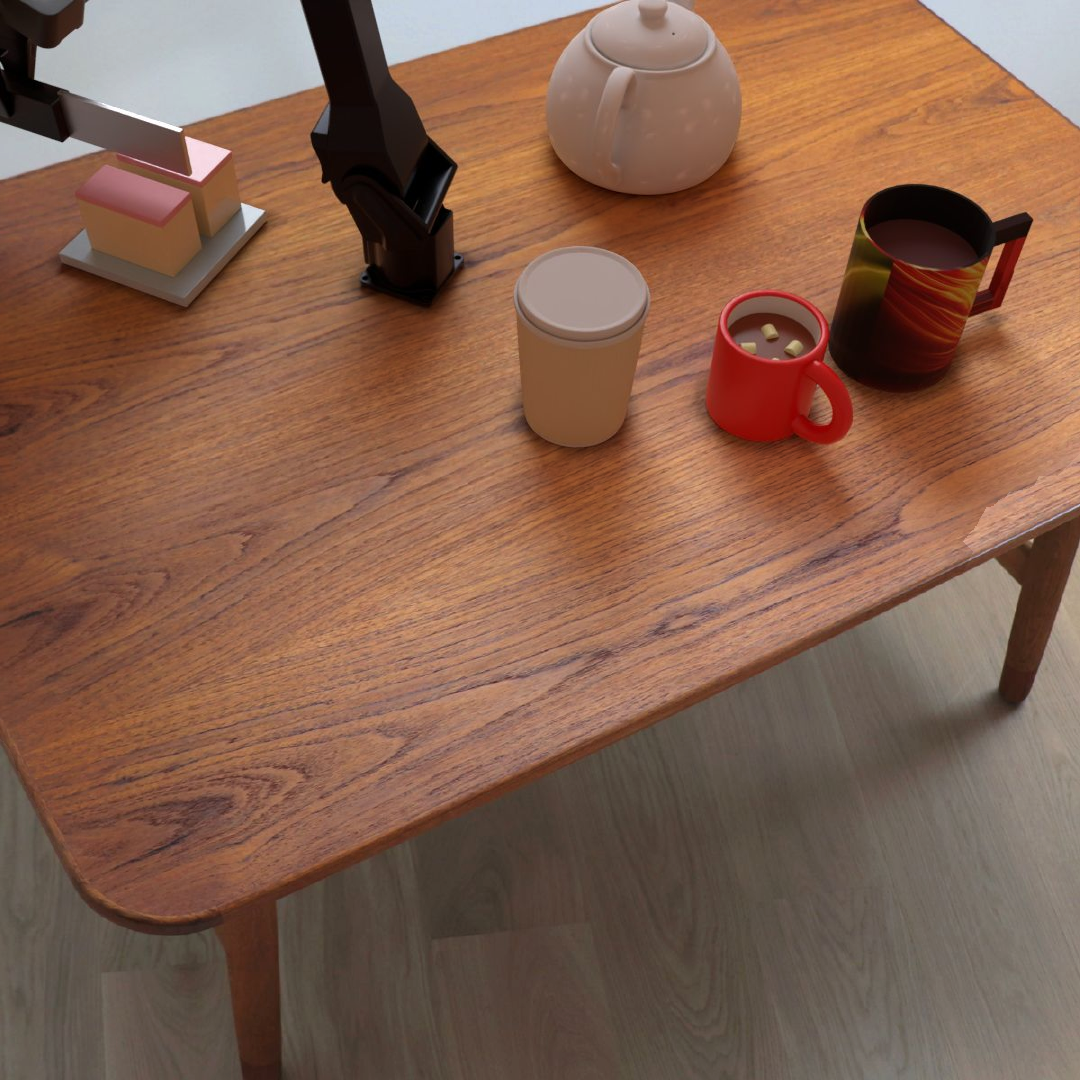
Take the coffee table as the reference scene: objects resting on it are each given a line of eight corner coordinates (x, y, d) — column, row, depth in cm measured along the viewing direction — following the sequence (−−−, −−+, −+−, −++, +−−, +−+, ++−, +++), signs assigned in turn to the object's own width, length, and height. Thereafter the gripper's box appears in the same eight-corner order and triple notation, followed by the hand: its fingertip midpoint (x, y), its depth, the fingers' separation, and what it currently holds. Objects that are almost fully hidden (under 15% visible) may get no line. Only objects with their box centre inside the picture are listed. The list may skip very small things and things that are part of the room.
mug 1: (806, 490, 97) (827, 415, 91) (683, 400, 103) (695, 322, 96) (874, 435, 101) (899, 359, 95) (752, 350, 106) (768, 273, 100)
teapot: (501, 112, 124) (502, -29, 114) (679, 67, 129) (695, -72, 119) (592, 235, 114) (602, 93, 103) (780, 180, 119) (808, 40, 108)
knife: (199, 167, 104) (189, 122, 101) (182, 183, 103) (173, 138, 100) (-24, 93, 109) (-39, 49, 106) (-42, 108, 108) (-58, 63, 105)
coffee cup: (652, 383, 104) (667, 261, 94) (616, 470, 98) (628, 350, 89) (536, 353, 105) (540, 229, 96) (494, 437, 100) (494, 315, 90)
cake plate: (267, 220, 114) (256, 154, 109) (186, 307, 107) (170, 242, 102) (147, 179, 117) (131, 113, 112) (61, 262, 110) (39, 196, 105)
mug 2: (998, 315, 109) (1046, 193, 100) (913, 411, 102) (956, 290, 93) (893, 263, 113) (929, 140, 103) (804, 353, 106) (834, 230, 97)
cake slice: (202, 248, 110) (190, 192, 106) (174, 278, 108) (160, 222, 104) (120, 220, 112) (104, 163, 108) (91, 248, 110) (73, 192, 106)
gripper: (-41, 8, 87) (25, 205, 99) (130, -119, 98) (171, 73, 110) (-178, -35, 90) (-97, 162, 102) (3, -154, 100) (57, 37, 113)
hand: (16, 107), depth 107 cm, fingers closed on knife, 2 cm apart
